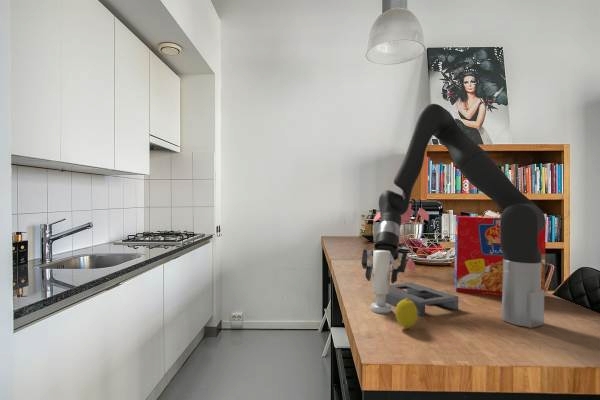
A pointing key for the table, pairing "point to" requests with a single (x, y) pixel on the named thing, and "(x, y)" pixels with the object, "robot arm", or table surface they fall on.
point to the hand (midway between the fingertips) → (380, 280)
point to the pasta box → (483, 255)
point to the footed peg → (381, 281)
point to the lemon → (406, 313)
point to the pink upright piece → (407, 217)
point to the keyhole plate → (420, 297)
